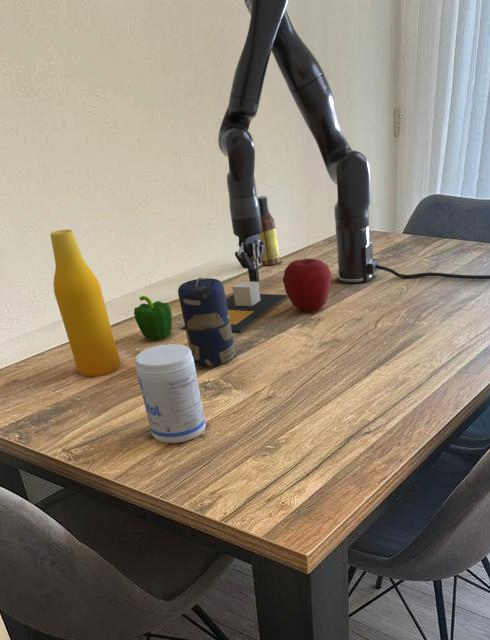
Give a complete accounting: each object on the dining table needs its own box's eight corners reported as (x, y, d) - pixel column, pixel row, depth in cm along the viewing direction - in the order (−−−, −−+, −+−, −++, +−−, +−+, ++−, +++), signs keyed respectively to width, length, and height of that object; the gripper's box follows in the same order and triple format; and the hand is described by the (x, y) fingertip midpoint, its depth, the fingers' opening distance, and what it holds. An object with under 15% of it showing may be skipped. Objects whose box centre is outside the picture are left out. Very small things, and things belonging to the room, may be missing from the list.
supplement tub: (141, 436, 118) (121, 358, 110) (183, 415, 124) (167, 339, 116) (176, 450, 113) (157, 369, 105) (218, 428, 119) (203, 349, 111)
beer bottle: (104, 378, 143) (64, 237, 127) (69, 375, 146) (26, 237, 130) (129, 362, 150) (94, 226, 134) (95, 359, 153) (57, 226, 137)
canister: (243, 353, 148) (230, 271, 139) (224, 370, 141) (209, 285, 131) (205, 351, 151) (189, 271, 142) (184, 368, 144) (166, 284, 134)
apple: (279, 317, 168) (272, 263, 161) (298, 302, 177) (292, 250, 170) (323, 319, 164) (318, 263, 156) (340, 304, 172) (336, 251, 165)
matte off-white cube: (260, 300, 179) (258, 281, 176) (252, 306, 175) (249, 287, 173) (244, 299, 181) (241, 281, 178) (235, 305, 177) (232, 286, 174)
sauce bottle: (282, 260, 216) (274, 194, 205) (279, 265, 211) (270, 198, 200) (262, 261, 217) (253, 195, 206) (258, 266, 211) (249, 199, 201)
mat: (288, 296, 182) (287, 294, 181) (239, 332, 160) (238, 330, 160) (236, 294, 187) (236, 292, 187) (182, 329, 166) (182, 327, 166)
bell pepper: (182, 335, 162) (174, 294, 157) (154, 345, 157) (144, 304, 152) (162, 329, 167) (153, 289, 162) (134, 339, 162) (124, 298, 157)
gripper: (246, 220, 165) (255, 290, 174) (270, 209, 175) (278, 275, 184) (219, 220, 167) (230, 289, 177) (244, 209, 178) (253, 275, 187)
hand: (254, 282), depth 180 cm, fingers closed
